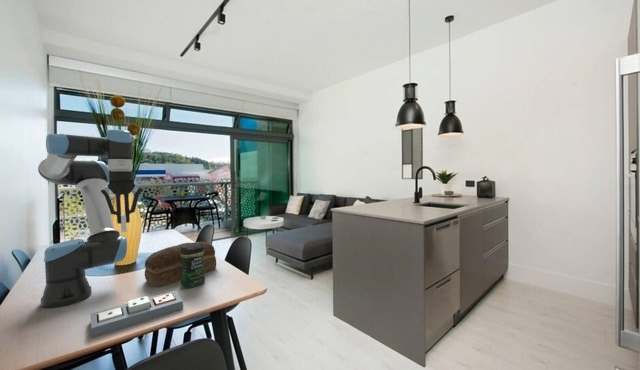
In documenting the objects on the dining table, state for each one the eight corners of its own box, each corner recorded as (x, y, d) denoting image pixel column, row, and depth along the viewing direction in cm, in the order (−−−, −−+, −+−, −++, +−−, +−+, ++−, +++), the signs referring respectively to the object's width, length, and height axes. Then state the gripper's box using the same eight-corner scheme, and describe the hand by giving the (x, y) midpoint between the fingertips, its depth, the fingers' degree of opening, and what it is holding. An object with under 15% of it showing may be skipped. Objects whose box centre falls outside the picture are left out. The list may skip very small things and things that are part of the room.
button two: (129, 314, 91) (129, 306, 91) (127, 308, 96) (127, 300, 95) (150, 308, 95) (149, 301, 95) (147, 302, 99) (147, 295, 99)
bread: (141, 282, 126) (139, 248, 125) (205, 263, 151) (204, 235, 150) (154, 290, 117) (152, 254, 116) (220, 268, 142) (219, 239, 141)
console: (91, 337, 82) (90, 328, 82) (91, 321, 91) (90, 313, 91) (183, 308, 99) (182, 300, 99) (175, 297, 108) (175, 290, 108)
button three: (156, 310, 96) (156, 303, 96) (153, 304, 101) (153, 297, 101) (175, 304, 100) (174, 297, 100) (171, 299, 105) (171, 292, 105)
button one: (99, 328, 86) (99, 319, 86) (98, 320, 90) (98, 312, 90) (122, 321, 90) (122, 313, 90) (120, 314, 94) (120, 306, 94)
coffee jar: (186, 290, 115) (185, 248, 114) (178, 285, 120) (176, 245, 119) (208, 283, 123) (206, 243, 122) (199, 279, 128) (198, 240, 127)
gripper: (99, 170, 95) (102, 235, 96) (142, 170, 104) (145, 230, 105) (98, 171, 101) (101, 232, 102) (139, 170, 109) (142, 227, 110)
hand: (123, 231), depth 103 cm, fingers closed
